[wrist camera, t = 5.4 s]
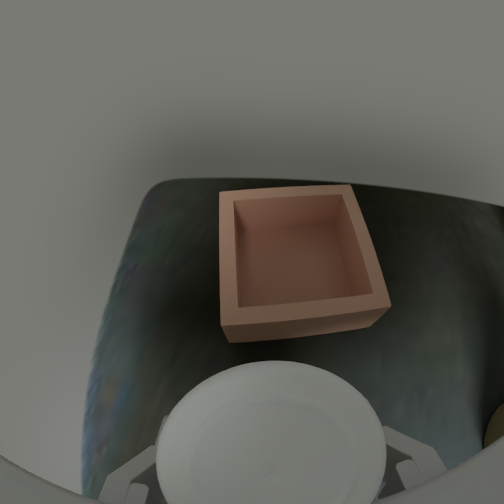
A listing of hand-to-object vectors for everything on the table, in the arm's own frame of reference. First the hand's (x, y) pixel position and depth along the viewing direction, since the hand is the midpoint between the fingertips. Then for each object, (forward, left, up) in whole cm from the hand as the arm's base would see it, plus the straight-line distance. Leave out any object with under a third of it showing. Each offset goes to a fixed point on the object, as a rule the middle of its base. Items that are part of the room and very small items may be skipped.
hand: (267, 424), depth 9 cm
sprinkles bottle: (0, +1, -8) cm, 8 cm away
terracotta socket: (-3, -10, -8) cm, 13 cm away
